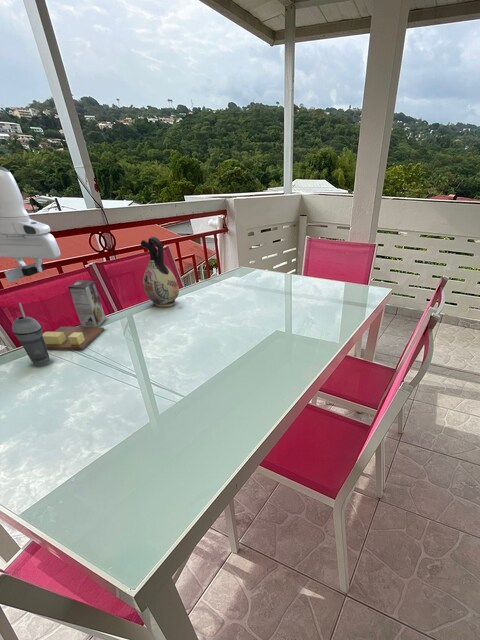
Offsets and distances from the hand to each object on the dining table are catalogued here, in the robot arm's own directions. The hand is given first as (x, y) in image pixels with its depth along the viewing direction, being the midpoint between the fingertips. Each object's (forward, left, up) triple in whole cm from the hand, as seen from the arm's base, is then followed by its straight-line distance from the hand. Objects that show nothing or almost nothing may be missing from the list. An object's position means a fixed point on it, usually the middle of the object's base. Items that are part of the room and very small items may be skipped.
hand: (33, 271), depth 112 cm
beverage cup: (+7, -23, -23) cm, 33 cm away
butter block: (+4, -9, -22) cm, 24 cm away
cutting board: (+7, -4, -23) cm, 24 cm away
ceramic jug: (+30, +37, -23) cm, 53 cm away
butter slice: (+12, -9, -22) cm, 26 cm away
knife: (0, -4, 0) cm, 4 cm away
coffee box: (+8, +12, -23) cm, 27 cm away
